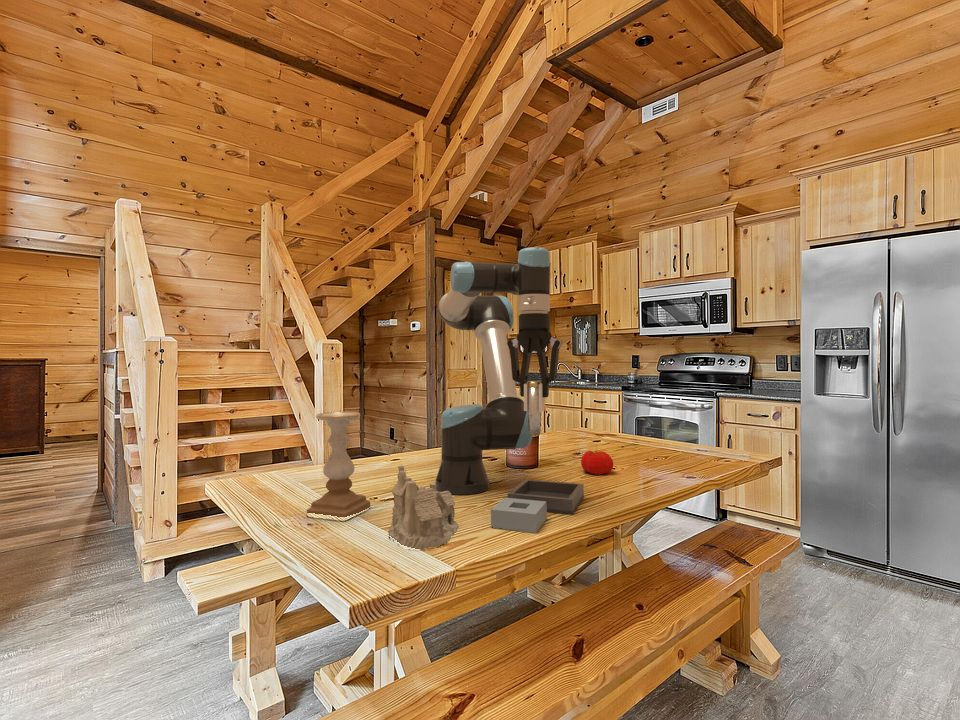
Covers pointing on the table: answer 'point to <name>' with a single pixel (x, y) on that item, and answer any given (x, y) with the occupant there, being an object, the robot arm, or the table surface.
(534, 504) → the pin block
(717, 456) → the table surface
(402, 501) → the ceramic cottage
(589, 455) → the tomato
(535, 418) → the pin
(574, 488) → the tray
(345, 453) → the candle holder
